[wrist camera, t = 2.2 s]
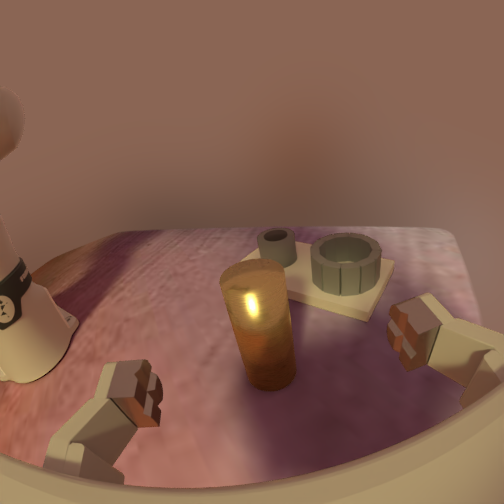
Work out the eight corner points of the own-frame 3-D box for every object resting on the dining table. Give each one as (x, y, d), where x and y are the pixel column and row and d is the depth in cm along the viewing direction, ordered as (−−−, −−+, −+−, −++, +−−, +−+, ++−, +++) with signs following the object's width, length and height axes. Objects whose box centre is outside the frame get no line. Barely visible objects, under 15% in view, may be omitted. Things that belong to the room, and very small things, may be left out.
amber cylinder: (238, 378, 27) (206, 284, 22) (266, 347, 31) (247, 253, 25) (277, 399, 24) (257, 303, 19) (305, 364, 27) (297, 265, 22)
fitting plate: (229, 279, 44) (220, 247, 42) (273, 244, 52) (268, 215, 49) (367, 321, 31) (371, 282, 28) (393, 269, 38) (396, 234, 36)
